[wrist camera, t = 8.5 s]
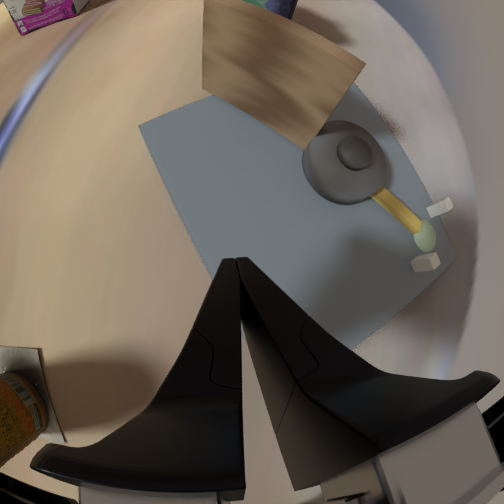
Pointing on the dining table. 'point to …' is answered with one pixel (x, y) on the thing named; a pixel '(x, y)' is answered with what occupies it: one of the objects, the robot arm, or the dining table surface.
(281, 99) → the brown piece
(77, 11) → the candy bar box
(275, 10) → the flask
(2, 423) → the condiment
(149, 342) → the dining table surface
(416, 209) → the stand
